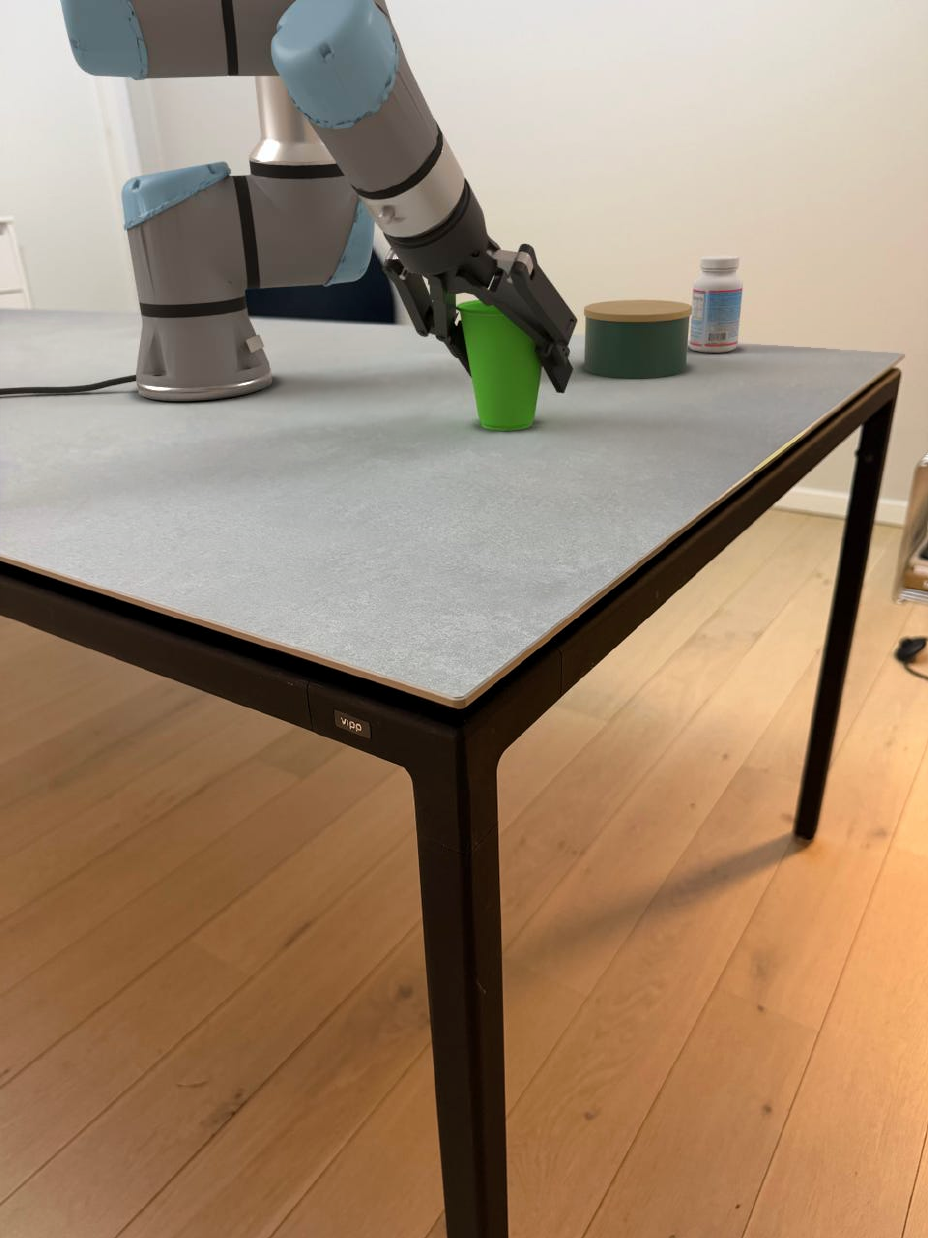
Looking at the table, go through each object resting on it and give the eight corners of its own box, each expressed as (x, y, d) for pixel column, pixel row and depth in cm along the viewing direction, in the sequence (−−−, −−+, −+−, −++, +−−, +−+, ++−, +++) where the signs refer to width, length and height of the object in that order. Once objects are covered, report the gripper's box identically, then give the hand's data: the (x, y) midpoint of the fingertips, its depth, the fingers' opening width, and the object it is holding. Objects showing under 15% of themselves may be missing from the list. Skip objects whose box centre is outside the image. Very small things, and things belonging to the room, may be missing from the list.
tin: (605, 382, 103) (608, 317, 100) (567, 362, 114) (568, 303, 111) (706, 373, 106) (711, 310, 103) (659, 354, 117) (663, 297, 114)
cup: (449, 434, 85) (444, 310, 80) (471, 411, 93) (468, 297, 88) (545, 438, 83) (546, 311, 78) (560, 414, 91) (562, 297, 86)
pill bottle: (743, 347, 120) (752, 254, 115) (727, 355, 115) (736, 259, 110) (699, 343, 123) (706, 253, 118) (681, 351, 119) (688, 258, 114)
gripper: (296, 242, 74) (419, 399, 93) (528, 245, 64) (612, 421, 83) (332, 167, 76) (445, 337, 95) (563, 158, 65) (637, 351, 85)
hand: (523, 376), depth 89 cm, fingers closed on cup, 8 cm apart
